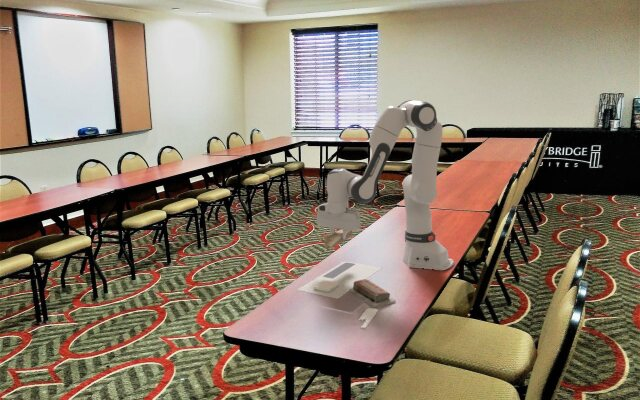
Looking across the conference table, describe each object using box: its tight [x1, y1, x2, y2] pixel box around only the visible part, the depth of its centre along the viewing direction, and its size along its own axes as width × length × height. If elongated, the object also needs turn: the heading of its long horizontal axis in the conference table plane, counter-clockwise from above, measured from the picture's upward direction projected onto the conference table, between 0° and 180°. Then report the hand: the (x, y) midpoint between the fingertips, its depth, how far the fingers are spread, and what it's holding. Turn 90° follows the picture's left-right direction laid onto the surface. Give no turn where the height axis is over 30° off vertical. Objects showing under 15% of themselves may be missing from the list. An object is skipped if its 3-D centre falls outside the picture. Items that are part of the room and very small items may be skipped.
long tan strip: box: [324, 229, 353, 249], centre depth 224 cm, size 3×18×4 cm, turn 148°
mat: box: [296, 261, 382, 300], centre depth 218 cm, size 19×38×1 cm, turn 148°
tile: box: [314, 280, 339, 293], centre depth 208 cm, size 7×1×8 cm
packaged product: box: [349, 278, 397, 309], centre depth 198 cm, size 18×5×10 cm
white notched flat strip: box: [357, 307, 379, 330], centre depth 181 cm, size 5×15×1 cm, turn 157°
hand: (338, 238), depth 224 cm, fingers closed on long tan strip, 3 cm apart
